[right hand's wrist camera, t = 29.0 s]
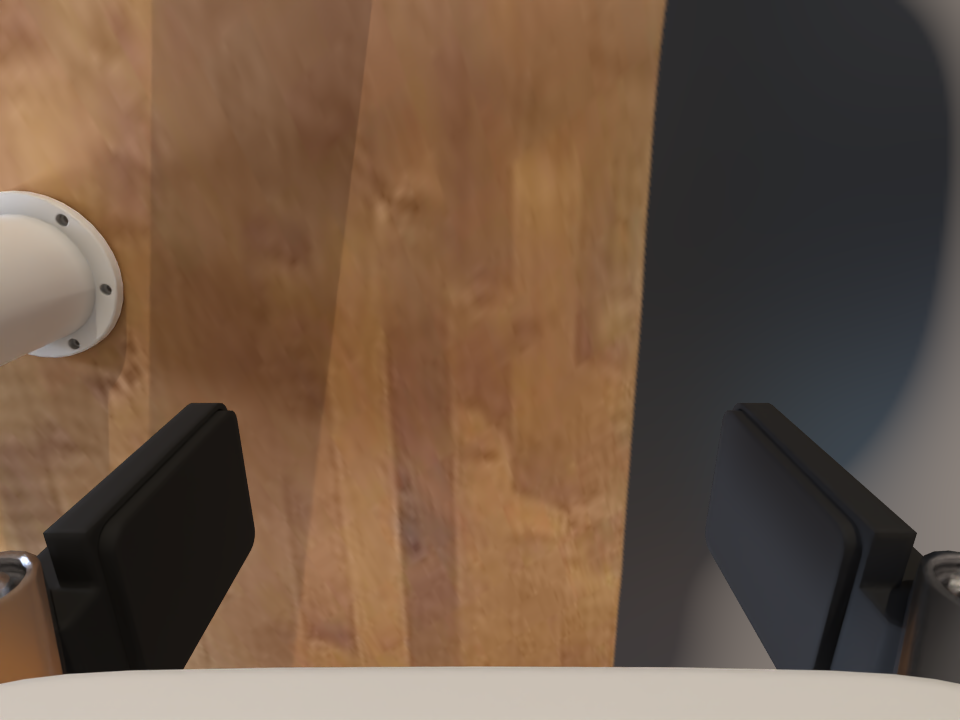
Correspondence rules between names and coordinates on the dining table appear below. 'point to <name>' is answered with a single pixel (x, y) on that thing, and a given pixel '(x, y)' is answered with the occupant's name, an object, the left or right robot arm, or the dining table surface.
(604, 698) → the right robot arm
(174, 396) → the dining table surface
